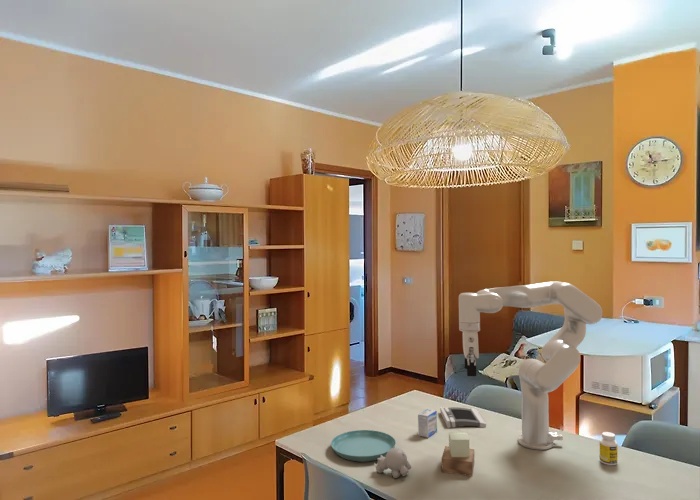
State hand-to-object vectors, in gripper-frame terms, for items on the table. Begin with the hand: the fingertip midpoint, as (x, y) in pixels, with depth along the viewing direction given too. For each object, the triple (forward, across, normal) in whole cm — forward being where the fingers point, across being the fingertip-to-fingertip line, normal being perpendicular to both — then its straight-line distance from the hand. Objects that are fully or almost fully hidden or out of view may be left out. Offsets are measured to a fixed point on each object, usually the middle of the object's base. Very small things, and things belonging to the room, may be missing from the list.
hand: (470, 372), depth 184 cm
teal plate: (+29, -5, +40) cm, 50 cm away
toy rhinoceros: (+29, -23, +28) cm, 46 cm away
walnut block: (+29, -16, +6) cm, 33 cm away
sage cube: (+24, -16, +6) cm, 29 cm away
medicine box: (+29, +12, +16) cm, 35 cm away
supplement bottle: (+28, -8, -45) cm, 54 cm away
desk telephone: (+29, +28, +1) cm, 40 cm away
